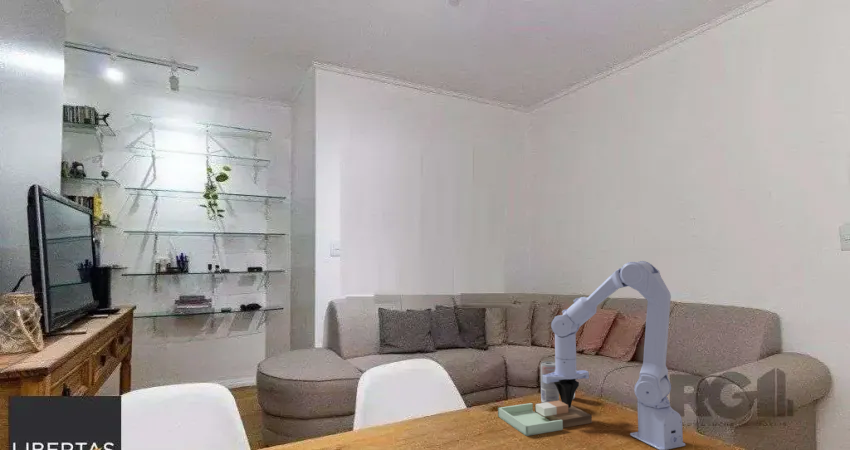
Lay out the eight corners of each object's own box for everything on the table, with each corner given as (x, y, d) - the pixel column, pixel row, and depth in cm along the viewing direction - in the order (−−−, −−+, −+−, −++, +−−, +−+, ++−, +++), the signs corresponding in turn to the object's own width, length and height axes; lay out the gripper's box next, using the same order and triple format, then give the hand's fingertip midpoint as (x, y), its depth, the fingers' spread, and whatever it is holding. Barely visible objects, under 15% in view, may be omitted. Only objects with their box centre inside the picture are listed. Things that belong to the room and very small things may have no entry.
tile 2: (568, 412, 121) (568, 404, 121) (556, 414, 120) (556, 406, 120) (559, 407, 125) (559, 400, 125) (547, 409, 124) (547, 402, 124)
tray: (562, 429, 114) (562, 420, 114) (526, 436, 110) (526, 426, 110) (531, 411, 127) (531, 402, 128) (497, 416, 123) (497, 407, 124)
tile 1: (556, 414, 120) (556, 406, 120) (544, 416, 118) (544, 408, 118) (547, 409, 123) (547, 402, 124) (535, 411, 122) (535, 404, 122)
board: (591, 422, 119) (591, 415, 119) (561, 428, 115) (561, 420, 116) (563, 408, 130) (563, 401, 130) (534, 412, 127) (534, 405, 127)
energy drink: (557, 400, 137) (556, 361, 138) (560, 406, 132) (560, 365, 132) (539, 399, 137) (539, 361, 138) (542, 405, 132) (542, 365, 133)
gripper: (576, 352, 131) (577, 398, 130) (535, 356, 125) (536, 404, 125) (593, 357, 124) (594, 406, 123) (551, 362, 119) (551, 413, 118)
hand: (566, 406), depth 123 cm, fingers closed
